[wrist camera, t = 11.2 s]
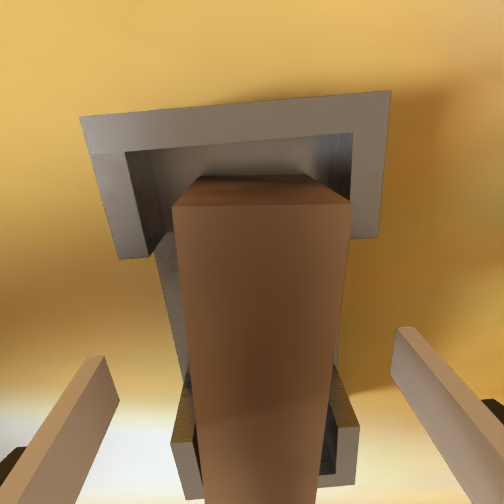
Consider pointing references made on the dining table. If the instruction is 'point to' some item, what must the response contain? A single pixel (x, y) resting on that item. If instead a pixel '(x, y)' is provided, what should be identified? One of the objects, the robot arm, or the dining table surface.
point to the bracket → (238, 163)
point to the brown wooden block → (261, 328)
